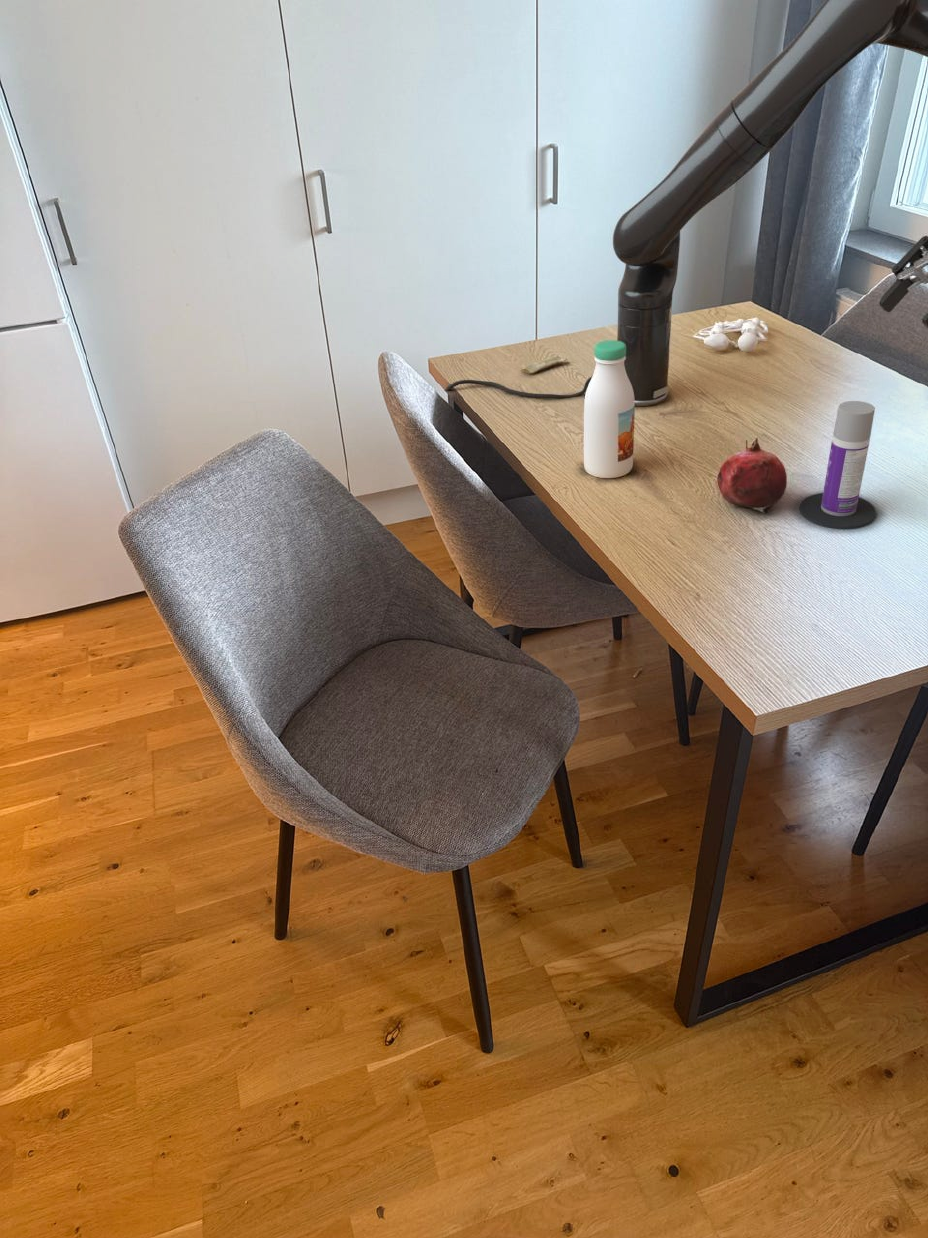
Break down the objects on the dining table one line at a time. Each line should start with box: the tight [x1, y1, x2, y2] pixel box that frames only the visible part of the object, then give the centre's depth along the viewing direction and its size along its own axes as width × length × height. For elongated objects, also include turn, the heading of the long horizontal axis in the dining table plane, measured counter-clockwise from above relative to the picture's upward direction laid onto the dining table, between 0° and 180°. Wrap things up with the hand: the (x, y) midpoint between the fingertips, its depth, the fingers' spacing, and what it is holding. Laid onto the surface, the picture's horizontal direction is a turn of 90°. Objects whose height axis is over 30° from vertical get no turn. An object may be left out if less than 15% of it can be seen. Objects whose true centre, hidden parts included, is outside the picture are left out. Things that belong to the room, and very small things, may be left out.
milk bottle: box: [583, 339, 636, 479], centre depth 138 cm, size 8×8×20 cm
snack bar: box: [521, 355, 568, 374], centre depth 183 cm, size 10×2×3 cm
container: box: [821, 400, 876, 516], centre depth 123 cm, size 5×5×15 cm
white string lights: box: [693, 317, 769, 353], centre depth 187 cm, size 19×14×4 cm
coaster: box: [799, 492, 877, 530], centre depth 128 cm, size 10×10×1 cm
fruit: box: [716, 437, 788, 514], centre depth 129 cm, size 9×10×10 cm
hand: (904, 316), depth 122 cm, fingers open, 8 cm apart
